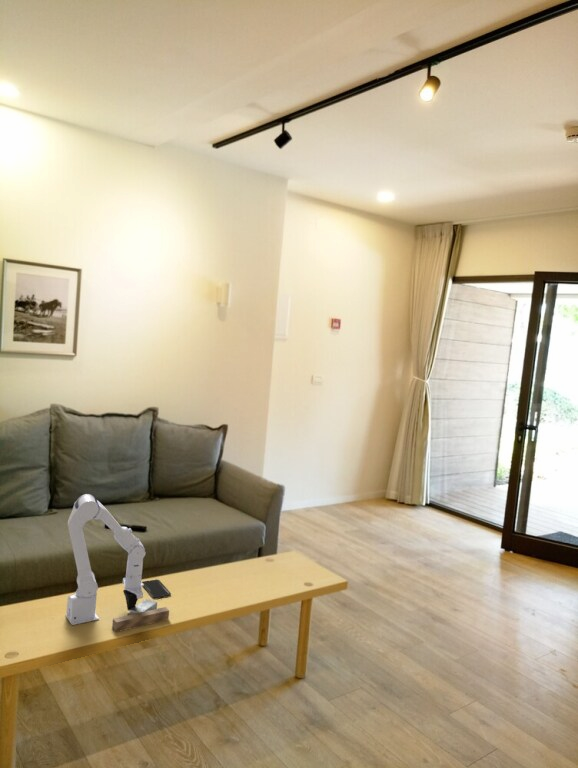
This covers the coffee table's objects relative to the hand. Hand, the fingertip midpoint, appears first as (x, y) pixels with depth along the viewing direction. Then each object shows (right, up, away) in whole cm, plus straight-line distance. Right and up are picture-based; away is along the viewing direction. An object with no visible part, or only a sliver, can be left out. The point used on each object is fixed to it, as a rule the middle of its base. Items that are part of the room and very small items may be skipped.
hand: (130, 609), depth 207 cm
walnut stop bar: (+6, -2, -8) cm, 10 cm away
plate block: (+4, -2, +1) cm, 5 cm away
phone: (+4, -1, +20) cm, 21 cm away
